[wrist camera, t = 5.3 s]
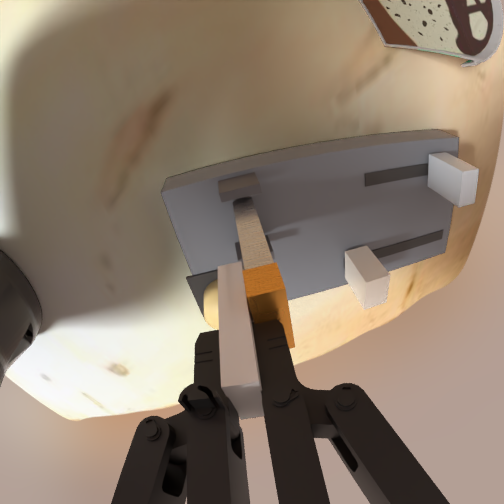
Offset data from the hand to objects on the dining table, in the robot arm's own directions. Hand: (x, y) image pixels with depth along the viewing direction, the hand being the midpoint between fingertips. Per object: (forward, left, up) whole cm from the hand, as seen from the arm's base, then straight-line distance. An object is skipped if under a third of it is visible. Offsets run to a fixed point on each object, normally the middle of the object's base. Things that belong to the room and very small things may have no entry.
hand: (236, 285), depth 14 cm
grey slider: (+17, +1, -7) cm, 19 cm away
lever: (+1, 0, -6) cm, 6 cm away
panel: (+8, -3, -10) cm, 13 cm away
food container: (+16, +16, -10) cm, 25 cm away
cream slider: (+9, -6, -7) cm, 13 cm away
